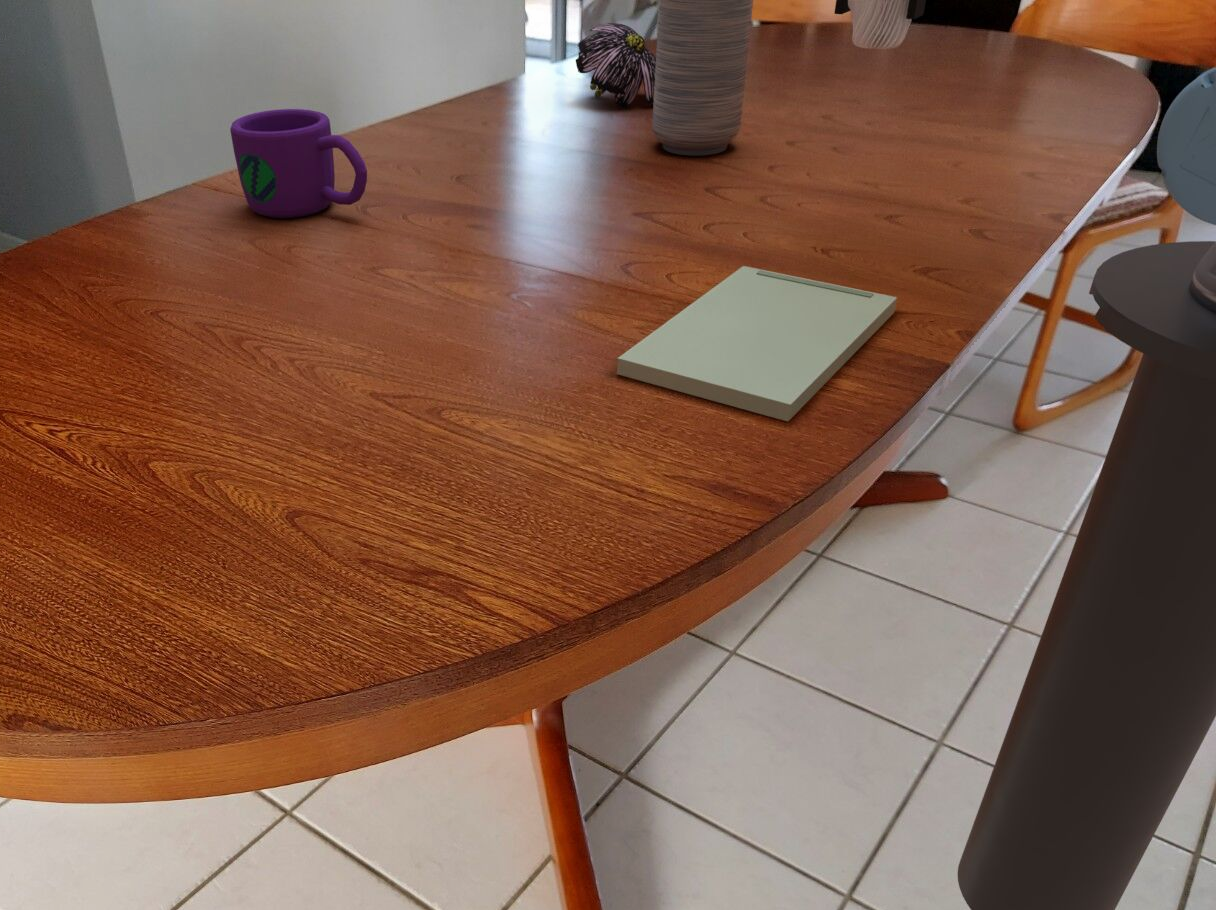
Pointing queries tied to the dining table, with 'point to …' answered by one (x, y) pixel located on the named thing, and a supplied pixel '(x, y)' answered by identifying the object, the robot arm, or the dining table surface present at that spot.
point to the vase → (700, 74)
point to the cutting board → (759, 341)
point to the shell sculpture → (879, 22)
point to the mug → (292, 162)
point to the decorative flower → (618, 63)
